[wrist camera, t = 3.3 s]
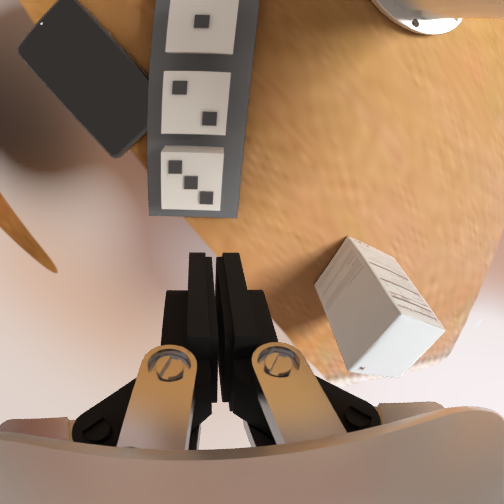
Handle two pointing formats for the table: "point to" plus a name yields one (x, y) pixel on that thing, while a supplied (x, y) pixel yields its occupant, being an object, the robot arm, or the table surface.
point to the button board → (236, 114)
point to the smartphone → (89, 75)
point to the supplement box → (375, 311)
